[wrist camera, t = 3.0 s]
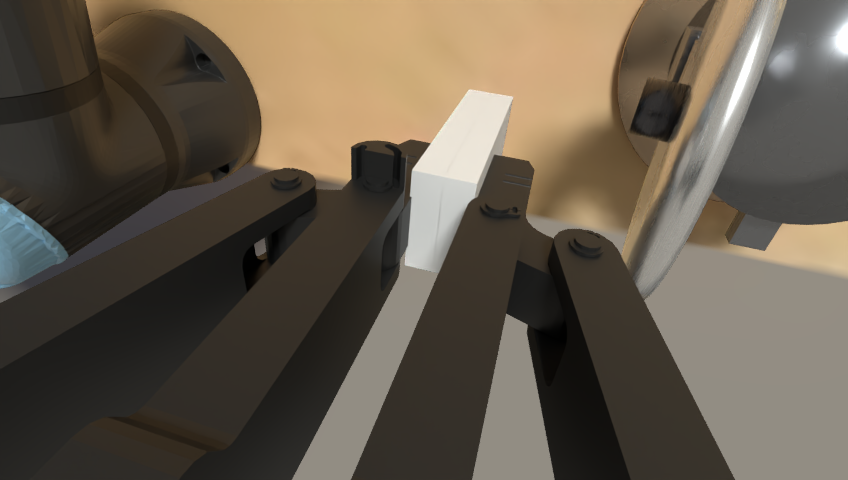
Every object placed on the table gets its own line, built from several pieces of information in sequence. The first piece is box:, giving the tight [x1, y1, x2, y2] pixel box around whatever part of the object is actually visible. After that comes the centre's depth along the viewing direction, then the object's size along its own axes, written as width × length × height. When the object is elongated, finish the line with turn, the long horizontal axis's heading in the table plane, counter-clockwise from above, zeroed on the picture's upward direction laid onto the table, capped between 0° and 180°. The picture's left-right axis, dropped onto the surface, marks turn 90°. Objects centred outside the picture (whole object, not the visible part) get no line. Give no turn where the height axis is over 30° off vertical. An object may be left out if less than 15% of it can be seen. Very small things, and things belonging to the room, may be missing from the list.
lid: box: [621, 0, 787, 300], centre depth 18 cm, size 14×14×2 cm
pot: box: [618, 0, 848, 251], centre depth 26 cm, size 19×19×9 cm
